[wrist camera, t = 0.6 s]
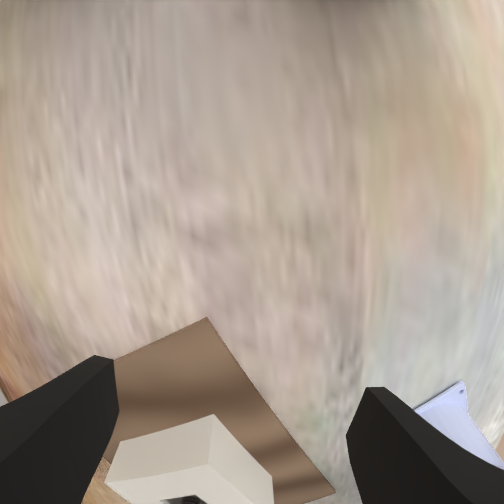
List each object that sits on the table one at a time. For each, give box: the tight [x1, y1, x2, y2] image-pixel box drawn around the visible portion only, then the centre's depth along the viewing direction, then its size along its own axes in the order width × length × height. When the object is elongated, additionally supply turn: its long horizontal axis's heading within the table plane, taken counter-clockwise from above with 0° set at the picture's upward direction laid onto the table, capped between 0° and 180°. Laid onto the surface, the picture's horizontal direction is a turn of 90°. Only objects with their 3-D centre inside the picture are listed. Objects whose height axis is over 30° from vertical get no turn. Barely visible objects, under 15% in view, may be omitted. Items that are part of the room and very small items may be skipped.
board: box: [103, 317, 335, 504], centre depth 22 cm, size 22×16×1 cm
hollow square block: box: [104, 414, 274, 504], centre depth 19 cm, size 9×9×5 cm
